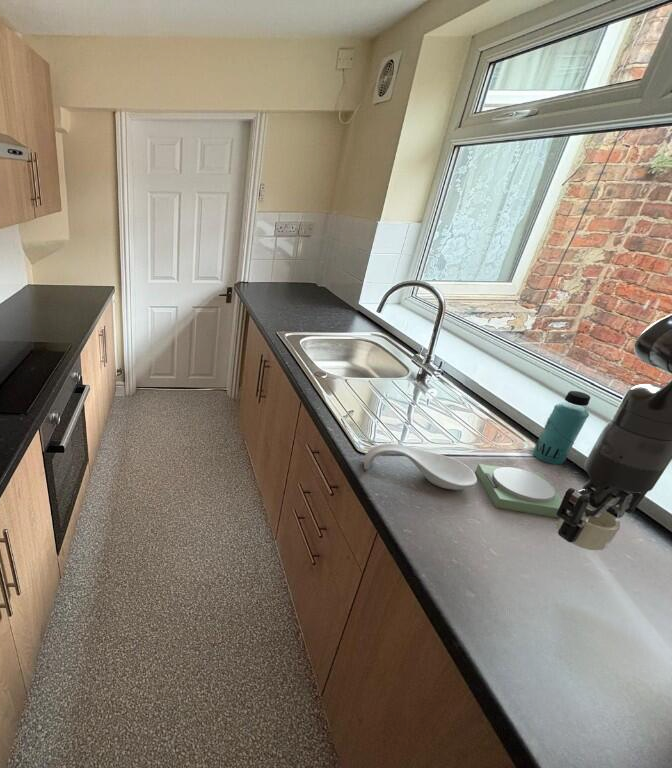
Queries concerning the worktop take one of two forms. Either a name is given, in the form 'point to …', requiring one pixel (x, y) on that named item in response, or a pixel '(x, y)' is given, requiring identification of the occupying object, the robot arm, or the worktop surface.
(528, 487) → the scale
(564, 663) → the worktop surface
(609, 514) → the bowl
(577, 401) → the beverage bottle
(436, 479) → the spoon rest
